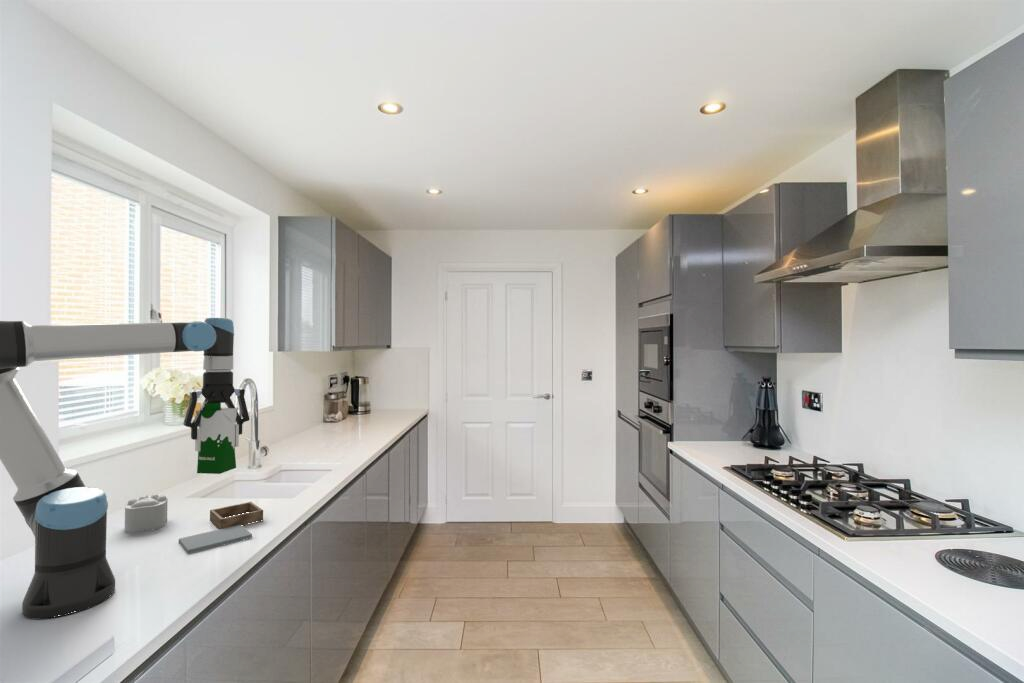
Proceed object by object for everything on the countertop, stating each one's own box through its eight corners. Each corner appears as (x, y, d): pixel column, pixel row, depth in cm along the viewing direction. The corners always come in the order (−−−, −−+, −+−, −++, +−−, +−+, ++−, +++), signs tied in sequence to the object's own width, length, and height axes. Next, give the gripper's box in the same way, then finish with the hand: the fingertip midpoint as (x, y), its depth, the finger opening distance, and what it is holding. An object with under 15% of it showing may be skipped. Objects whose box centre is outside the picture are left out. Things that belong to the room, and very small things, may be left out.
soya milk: (191, 474, 137) (192, 403, 137) (214, 466, 146) (214, 399, 146) (220, 475, 136) (221, 403, 136) (241, 467, 145) (242, 400, 145)
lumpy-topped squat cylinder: (121, 534, 145) (122, 505, 145) (130, 520, 156) (131, 493, 156) (164, 528, 150) (164, 500, 150) (169, 515, 161) (170, 489, 161)
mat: (187, 553, 131) (187, 550, 131) (178, 542, 139) (178, 538, 139) (252, 537, 143) (252, 534, 143) (240, 527, 150) (240, 524, 150)
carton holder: (220, 530, 148) (220, 519, 148) (209, 520, 156) (209, 509, 156) (263, 521, 156) (263, 510, 156) (250, 512, 165) (250, 501, 165)
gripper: (254, 369, 152) (253, 441, 151) (170, 371, 136) (169, 451, 136) (262, 370, 147) (261, 445, 146) (176, 372, 131) (175, 456, 131)
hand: (217, 448), depth 141 cm, fingers closed on soya milk, 9 cm apart
